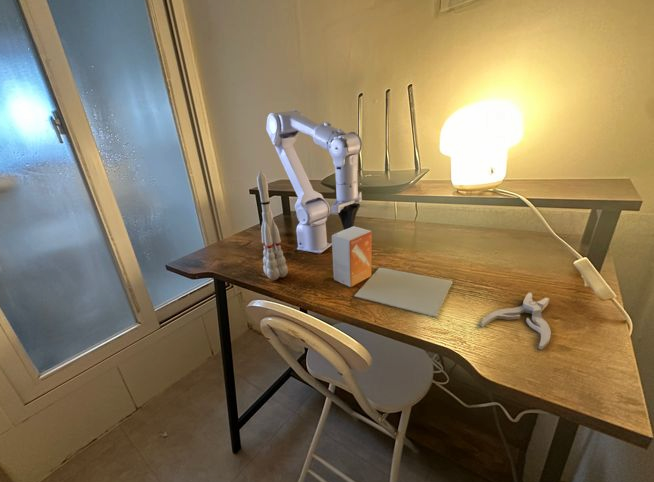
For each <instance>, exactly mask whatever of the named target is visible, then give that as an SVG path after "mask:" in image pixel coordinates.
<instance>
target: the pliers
mask: <svg viewBox="0 0 654 482" xmlns="http://www.w3.org/2000/svg"><path fill="white" fill-rule="evenodd" d="M549 302H550V298H549V297H544V298H542V299H540V300H538V301H534V300H533V292H527V294H526V295H525V297H524V299H523V302H522V305H519V306H517V307H509V308H507V307H506V308H500V309H496V310H493V311H492V312H490V313H488V314H486V315H485V316H484V317H483V318H482V320H481V322H480V325H479V326H480V327H482V328H484V327H486V325H488V324H489V323H491V322H493V321H495V320H497V319H498V320H507V321H512V320H519V319H521V314H523V313H525V314H531V319H530V318H529V317H526V319H525V322H526V324H527V325H528V326H529V327H530V328H531V329H533V330H534V331H535V332H538V334H540V340H539V344H538V347H537V349H539V350H541V351H542V350H543V349H544V348H546V346H548V344H549V342H550V339H551V336H552V332H551V327H550V325H549V324H548V322H547V321H546V320H545V319H544V318H543V315H542V312H543V311H544V310H545V308H546V307H547V306H548V305H549Z"/></svg>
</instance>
